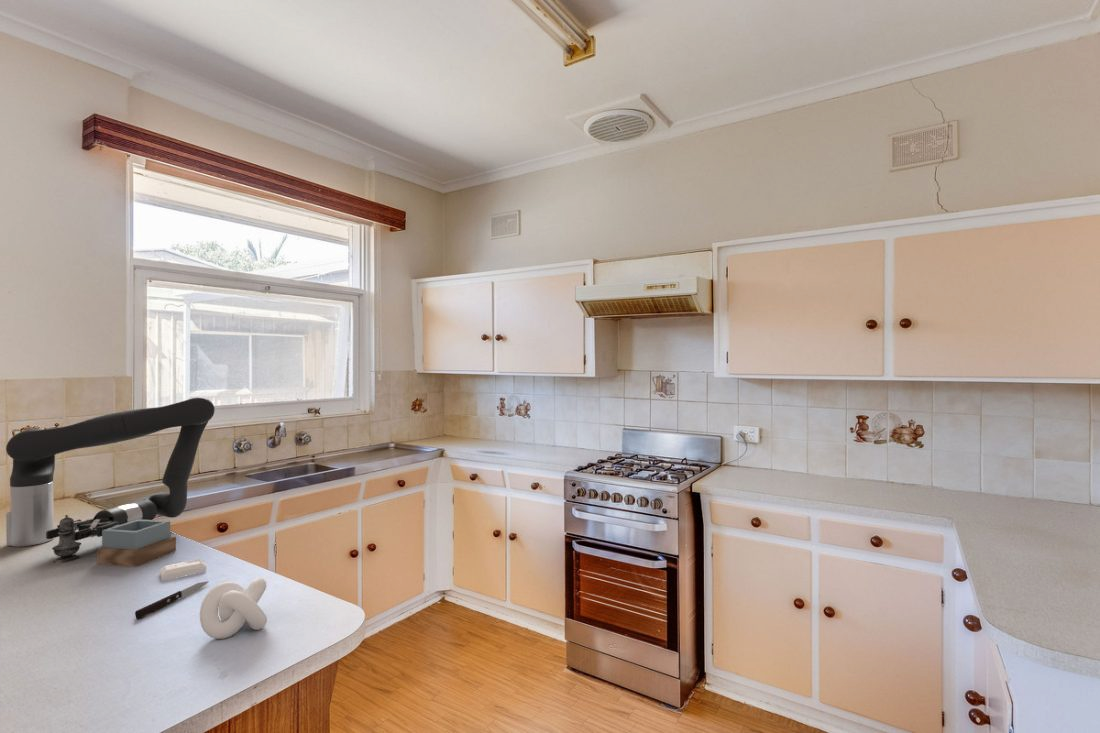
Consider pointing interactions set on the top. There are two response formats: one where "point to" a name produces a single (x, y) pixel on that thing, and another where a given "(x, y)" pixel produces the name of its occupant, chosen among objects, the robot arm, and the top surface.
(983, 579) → the top surface
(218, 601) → the white knot sculpture
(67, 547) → the salt shaker
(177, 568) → the soap bar
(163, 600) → the kitchen knife
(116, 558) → the tower base
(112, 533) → the blue-grey square tray
